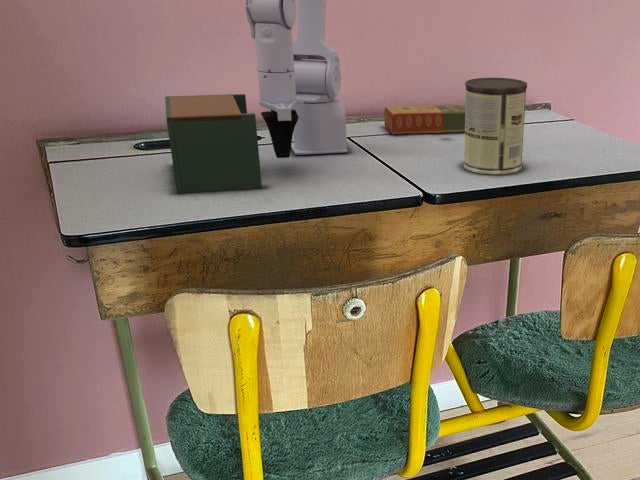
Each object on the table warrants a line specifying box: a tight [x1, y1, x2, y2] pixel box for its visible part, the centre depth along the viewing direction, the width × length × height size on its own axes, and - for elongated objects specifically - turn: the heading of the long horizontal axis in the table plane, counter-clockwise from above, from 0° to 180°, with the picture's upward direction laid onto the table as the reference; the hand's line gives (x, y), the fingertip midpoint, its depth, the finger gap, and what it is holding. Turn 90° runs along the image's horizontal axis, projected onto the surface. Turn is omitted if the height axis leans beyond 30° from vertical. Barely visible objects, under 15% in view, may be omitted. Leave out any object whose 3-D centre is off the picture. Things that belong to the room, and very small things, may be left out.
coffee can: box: [463, 77, 528, 175], centre depth 139 cm, size 10×10×14 cm
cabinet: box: [164, 93, 263, 194], centre depth 131 cm, size 13×17×11 cm
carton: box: [383, 104, 465, 135], centre depth 166 cm, size 8×16×4 cm, turn 105°
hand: (282, 157), depth 135 cm, fingers closed
